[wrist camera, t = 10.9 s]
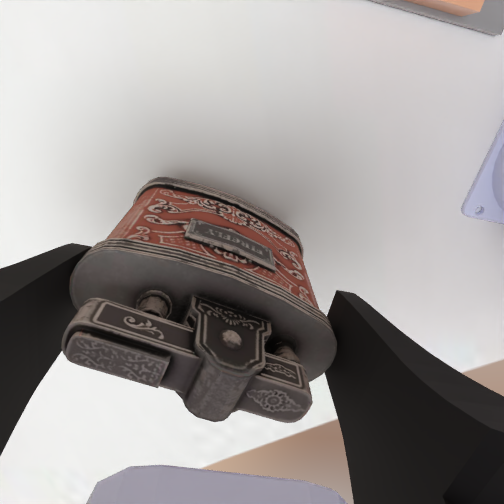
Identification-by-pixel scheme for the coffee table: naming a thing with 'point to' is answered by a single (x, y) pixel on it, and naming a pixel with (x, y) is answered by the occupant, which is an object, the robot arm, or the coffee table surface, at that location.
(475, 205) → the robot arm
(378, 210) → the coffee table surface
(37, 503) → the coffee table surface
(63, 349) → the lighter
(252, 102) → the coffee table surface
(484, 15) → the holder
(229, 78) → the coffee table surface
